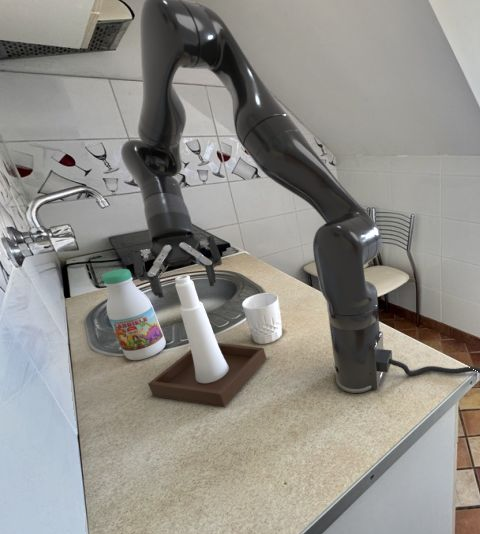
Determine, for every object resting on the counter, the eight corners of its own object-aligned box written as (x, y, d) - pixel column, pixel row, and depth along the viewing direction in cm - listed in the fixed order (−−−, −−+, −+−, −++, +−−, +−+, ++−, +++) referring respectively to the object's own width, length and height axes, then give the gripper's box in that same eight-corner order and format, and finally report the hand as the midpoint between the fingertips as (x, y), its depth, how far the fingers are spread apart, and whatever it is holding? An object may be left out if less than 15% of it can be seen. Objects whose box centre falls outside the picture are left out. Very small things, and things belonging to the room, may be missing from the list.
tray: (266, 359, 71) (263, 347, 70) (224, 407, 59) (220, 394, 58) (205, 352, 74) (202, 340, 73) (153, 396, 62) (147, 383, 61)
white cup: (273, 347, 75) (265, 310, 71) (243, 343, 77) (234, 307, 73) (290, 328, 82) (284, 294, 79) (263, 325, 84) (255, 291, 80)
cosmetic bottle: (202, 366, 69) (171, 272, 60) (232, 361, 70) (206, 269, 61) (191, 386, 63) (155, 286, 55) (224, 381, 64) (193, 282, 56)
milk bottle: (123, 350, 75) (89, 272, 67) (163, 336, 80) (135, 262, 72) (128, 366, 70) (91, 283, 62) (170, 350, 75) (141, 272, 67)
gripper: (119, 216, 60) (136, 293, 56) (206, 205, 68) (226, 273, 63) (131, 236, 66) (147, 307, 62) (210, 224, 74) (228, 287, 69)
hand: (187, 290), depth 63 cm, fingers open, 8 cm apart
